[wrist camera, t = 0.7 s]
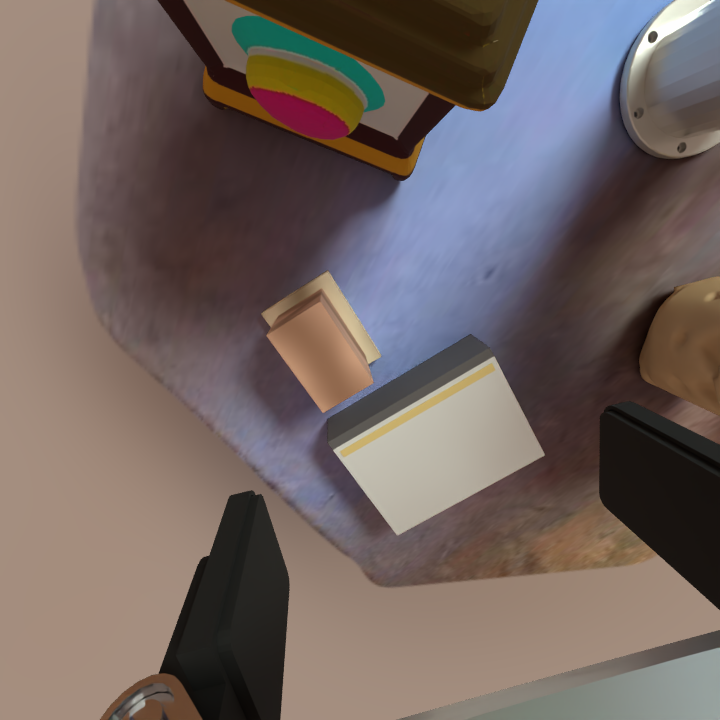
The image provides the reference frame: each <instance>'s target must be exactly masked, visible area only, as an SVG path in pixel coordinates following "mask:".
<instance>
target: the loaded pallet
mask: <svg viewBox="0 0 720 720" xmlns="http://www.w3.org/2000/svg"><path fill="white" fill-rule="evenodd" d="M261 315H262V316H263V317H264V319H265V320H266V321H267V323H268V324H269V326H270V327H271V329H270V330H269V332H268V334H267V335H266V336H267V337H268V339H269V340H270V341H271V343H272V344H273V345H274V347H275V348H276V349H277V351H278V352H279V354H280V355H281V356H282V358H283V359H284V360H285V362H286V363H287V365H288V366H289V367H290V369H291V370H292V371H293V373H294V374H295V375H296V377H297V378H298V380H299V381H300V382H301V384H302V385H303V386H304V388H305V389H306V391H307V392H308V393H309V395H310V396H311V397H312V399H313V400H314V401H315V403H316V404H317V406H318V407H319V408H320V410H321V411H322V412H323V413H324V412H326V411H327V410H329V409H331V408H332V407H334V406H336V405H337V404H339V403H341V402H342V401H344V400H346V399H348V398H349V397H351V396H353V395H354V394H356V393H358V392H359V391H361V390H363V389H364V388H366V387H368V386H369V385H371V384H373V383H374V382H373V379H372V375H371V372H370V369H369V365H368V364H370V363H371V362H373V361H375V360H376V359H378V358H380V357H381V354H380V352H379V351H378V349H377V347H376V346H375V344H374V343H373V341H372V339H371V338H370V336H369V335H368V333H367V331H366V330H365V328H364V327H363V325H362V323H361V322H360V320H359V319H358V317H357V316H356V314H355V312H354V311H353V309H352V308H351V306H350V304H349V303H348V301H347V300H346V298H345V296H344V295H343V293H342V292H341V290H340V288H339V287H338V285H337V284H336V282H335V280H334V279H333V277H332V276H331V274H330V273H329V271H328V270H327V271H326V272H324V273H322V274H321V275H319V276H318V277H316V278H315V279H313V280H311V281H310V282H308V283H307V284H305V285H304V286H302V287H301V288H299V289H297V290H296V291H294V292H293V293H291V294H290V295H288V296H287V297H285V298H283V299H282V300H280V301H279V302H277V303H276V304H274V305H273V306H271V307H269V308H268V309H266V310H265V311H263V313H262V314H261Z"/></svg>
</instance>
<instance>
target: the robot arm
mask: <svg viewBox="0 0 720 720" xmlns="http://www.w3.org/2000/svg"><path fill="white" fill-rule="evenodd" d="M620 108H621V114H622V118H623V122H624V125H625V127H626V129H627V131H628V133H629V136H630V137H631V138H632V140H633V141H634V142H635V143H636V145H637V146H638V147H640V148H641V149H642V150H644V151H645V152H646V153H648V154H651V155H653V156H655V157H658V158H664V159H678V158H684V157H688V156H693V155H696V154H699V153H701V152H704V151H707V150H708V149H710V148H712V147H713V146H715V145H717V144H718V143H720V0H674V1H672V2H671V3H669V4H668V5H666V6H665V7H664V8H662V9H661V10H660V11H659V12H658V13H657V14H656V15H655V16H654V17H653V18H652V19H651V20H650V21H649V22H648V23H647V25H646V26H645V27H644V28H643V30H642V31H641V32H640V34H639V36H638V37H637V39H636V41H635V42H634V44H633V46H632V48H631V50H630V53H629V55H628V58H627V60H626V63H625V66H624V70H623V74H622V78H621V86H620ZM599 494H600V499H601V501H602V503H603V504H604V506H605V507H606V508H607V509H608V510H609V511H610V512H611V513H612V514H614V515H615V516H616V517H617V518H618V519H619V520H620V521H621V522H622V523H624V524H625V525H626V526H627V527H628V528H629V529H630V530H631V531H632V532H634V533H635V534H636V535H637V536H638V537H639V538H640V539H641V540H642V541H644V542H645V543H646V544H647V545H648V546H649V547H650V548H651V549H652V550H654V551H655V552H656V553H657V554H658V555H659V556H660V557H661V558H663V559H664V560H665V561H666V562H667V563H668V564H669V565H670V566H671V567H673V568H674V569H675V570H676V571H677V572H678V573H679V574H680V575H681V576H683V577H684V578H685V579H686V580H687V581H688V582H689V583H690V584H691V585H693V586H694V587H695V588H696V589H697V590H698V591H699V592H700V593H701V594H703V595H704V596H705V597H706V598H707V599H708V600H709V601H710V602H712V603H713V604H714V605H715V606H716V607H717V608H718V609H719V610H720V445H719V444H717V443H715V442H713V441H711V440H709V439H707V438H705V437H703V436H701V435H699V434H697V433H695V432H693V431H691V430H689V429H687V428H685V427H682V426H680V425H678V424H676V423H674V422H672V421H670V420H668V419H666V418H664V417H662V416H660V415H658V414H656V413H654V412H652V411H650V410H648V409H646V408H644V407H642V406H640V405H638V404H636V403H634V402H630V401H629V402H623V403H619V404H615V405H610V406H608V407H606V408H605V410H604V413H602V414H601V416H600V473H599ZM288 601H289V576H288V572H287V568H286V566H285V562H284V559H283V556H282V553H281V550H280V547H279V544H278V541H277V538H276V535H275V532H274V529H273V526H272V522H271V519H270V517H269V513H268V511H267V507H266V504H265V501H264V499H263V496H262V495H261V494H260V495H255V493H254V491H252V490H251V491H247V492H243V493H239V494H234V495H231V496H230V497H229V499H228V502H227V505H226V508H225V511H224V514H223V517H222V519H221V523H220V525H219V529H218V532H217V535H216V538H215V540H214V544H213V547H212V549H211V552H210V555H209V556H206V557H203V558H202V559H201V560H200V562H199V564H198V566H197V569H196V572H195V575H194V577H193V580H192V583H191V585H190V588H189V591H188V594H187V597H186V599H185V602H184V605H183V608H182V610H181V613H180V616H179V619H178V621H177V624H176V627H175V630H174V632H173V635H172V638H171V641H170V643H169V647H168V649H167V652H166V655H165V657H164V660H163V663H162V666H161V668H160V671H159V674H156V675H151V676H149V677H147V678H145V679H142V680H140V681H138V682H137V683H135V684H134V685H133V686H131V687H130V688H128V689H127V690H126V691H124V692H123V693H122V694H121V695H120V696H119V697H118V698H117V699H116V700H115V701H114V702H113V703H112V704H111V705H110V707H109V708H108V709H107V710H106V712H105V713H104V714H103V716H102V717H101V719H100V720H280V714H281V701H282V686H283V672H284V658H285V643H286V630H287V615H288ZM398 720H720V630H718V631H715V632H711V633H707V634H704V635H700V636H696V637H692V638H689V639H685V640H681V641H678V642H674V643H670V644H666V645H663V646H659V647H655V648H652V649H648V650H645V651H641V652H637V653H634V654H630V655H626V656H623V657H619V658H615V659H612V660H608V661H605V662H601V663H597V664H594V665H590V666H587V667H583V668H579V669H576V670H572V671H568V672H565V673H561V674H558V675H554V676H551V677H547V678H543V679H539V680H536V681H532V682H529V683H525V684H521V685H518V686H514V687H511V688H507V689H504V690H500V691H497V692H494V693H490V694H486V695H483V696H479V697H476V698H472V699H468V700H465V701H461V702H458V703H455V704H451V705H447V706H444V707H440V708H437V709H433V710H430V711H426V712H422V713H419V714H415V715H412V716H408V717H405V718H402V719H398Z"/></svg>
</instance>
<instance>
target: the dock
mask: <svg viewBox="0 0 720 720" xmlns="http://www.w3.org/2000/svg"><path fill="white" fill-rule="evenodd" d="M327 443H328V444H329V445H330V447H331V448H332V449H333V451H334V452H335V453H336V455H337V456H338V457H339V459H340V460H341V461H342V463H343V464H344V465H345V467H346V468H347V469H348V471H349V472H350V473H351V475H352V476H353V477H354V479H355V480H356V481H357V483H358V484H359V485H360V487H361V488H362V489H363V491H364V492H365V493H366V495H367V496H368V497H369V499H370V500H371V501H372V503H373V504H374V505H375V507H376V508H377V509H378V511H379V512H380V513H381V515H382V516H383V517H384V519H385V520H386V521H387V523H388V524H389V525H390V527H391V528H392V529H393V531H394V532H395V533H396V535H399V534H401V533H403V532H405V531H407V530H408V529H410V528H412V527H414V526H416V525H418V524H420V523H421V522H423V521H425V520H427V519H429V518H431V517H432V516H434V515H436V514H438V513H440V512H442V511H443V510H445V509H447V508H449V507H451V506H453V505H454V504H456V503H458V502H460V501H462V500H464V499H466V498H467V497H469V496H471V495H473V494H475V493H477V492H478V491H480V490H482V489H484V488H486V487H488V486H489V485H491V484H493V483H495V482H497V481H499V480H500V479H502V478H504V477H506V476H508V475H510V474H512V473H513V472H515V471H517V470H519V469H521V468H523V467H524V466H526V465H528V464H530V463H532V462H534V461H535V460H537V459H539V458H541V457H543V456H545V454H544V452H543V450H542V448H541V446H540V444H539V442H538V440H537V439H536V437H535V435H534V433H533V431H532V429H531V427H530V425H529V423H528V421H527V419H526V417H525V415H524V413H523V411H522V409H521V407H520V405H519V403H518V401H517V400H516V398H515V396H514V394H513V392H512V390H511V388H510V386H509V384H508V382H507V380H506V378H505V376H504V374H503V372H502V370H501V368H500V366H499V364H498V362H497V361H496V359H495V357H494V355H493V353H492V351H491V349H490V347H488V346H487V345H486V344H484V343H483V342H481V341H480V340H478V339H477V338H476V337H474V336H473V335H471V334H470V335H468V336H467V337H465V338H463V339H462V340H460V341H458V342H457V343H455V344H453V345H451V346H450V347H448V348H446V349H445V350H443V351H441V352H440V353H438V354H436V355H435V356H433V357H431V358H430V359H428V360H426V361H425V362H423V363H421V364H419V365H418V366H416V367H414V368H413V369H411V370H409V371H408V372H406V373H404V374H403V375H401V376H399V377H398V378H396V379H394V380H392V381H391V382H389V383H387V384H386V385H384V386H382V387H381V388H379V389H377V390H376V391H374V392H372V393H371V394H369V395H367V396H366V397H364V398H362V399H360V400H359V401H357V402H355V403H354V404H352V405H350V406H349V407H347V408H345V409H344V410H342V411H340V412H339V413H337V414H335V415H334V416H332V417H330V418H328V432H327Z"/></svg>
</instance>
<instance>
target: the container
mask: <svg viewBox="0 0 720 720" xmlns="http://www.w3.org/2000/svg"><path fill="white" fill-rule="evenodd" d="M639 364H640V374H641V377H642V378H643V379H644V380H645V381H646V382H648V383H650V384H652V385H654V386H657V387H660V388H661V389H663V390H665V391H667V392H669V393H671V394H674V395H676V396H678V397H680V398H682V399H684V400H687V401H689V402H691V403H693V404H695V405H697V406H699V407H701V408H704V409H706V410H708V411H710V412H712V413H714V414H717V415H719V416H720V277H712V278H708V279H704V280H700V281H697V282H693V283H689V284H685V285H682V286H677V287H674V293H673V294H672V295H671V296H670V297H668V298H667V299H666V300H665V302H664V303H663V304H662V305H661V306H660V307H659V309H658V311H657V313H656V315H655V317H654V319H653V321H652V324H651V326H650V329H649V331H648V334H647V337H646V340H645V342H644V345H643V348H642V350H641V353H640V358H639Z"/></svg>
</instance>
